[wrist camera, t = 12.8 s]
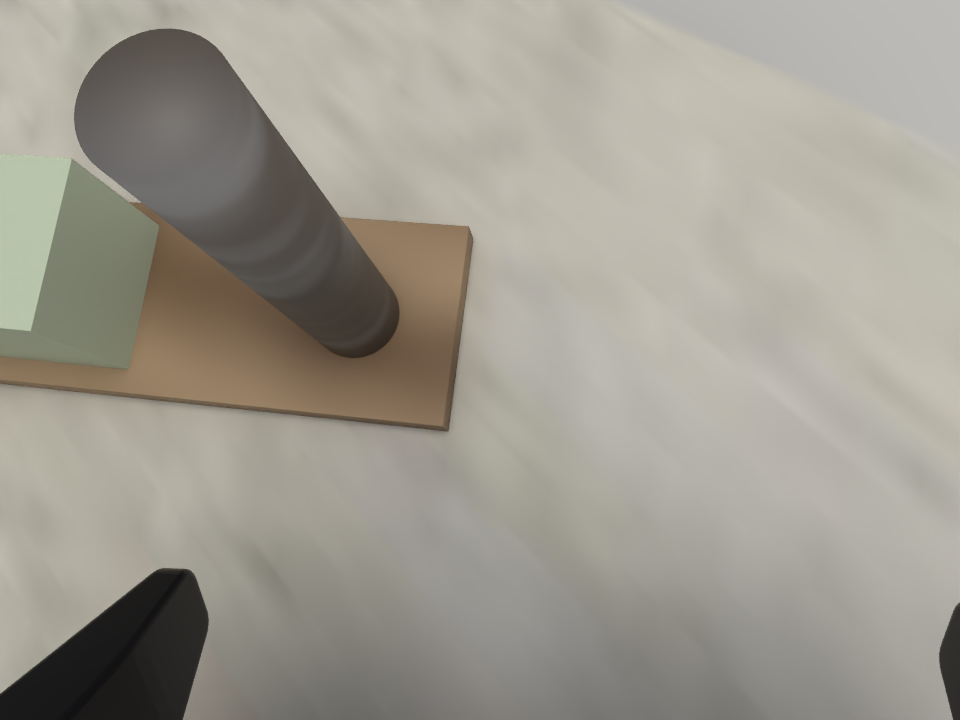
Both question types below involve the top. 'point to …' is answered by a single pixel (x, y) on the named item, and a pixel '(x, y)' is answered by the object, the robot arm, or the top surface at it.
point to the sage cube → (69, 264)
